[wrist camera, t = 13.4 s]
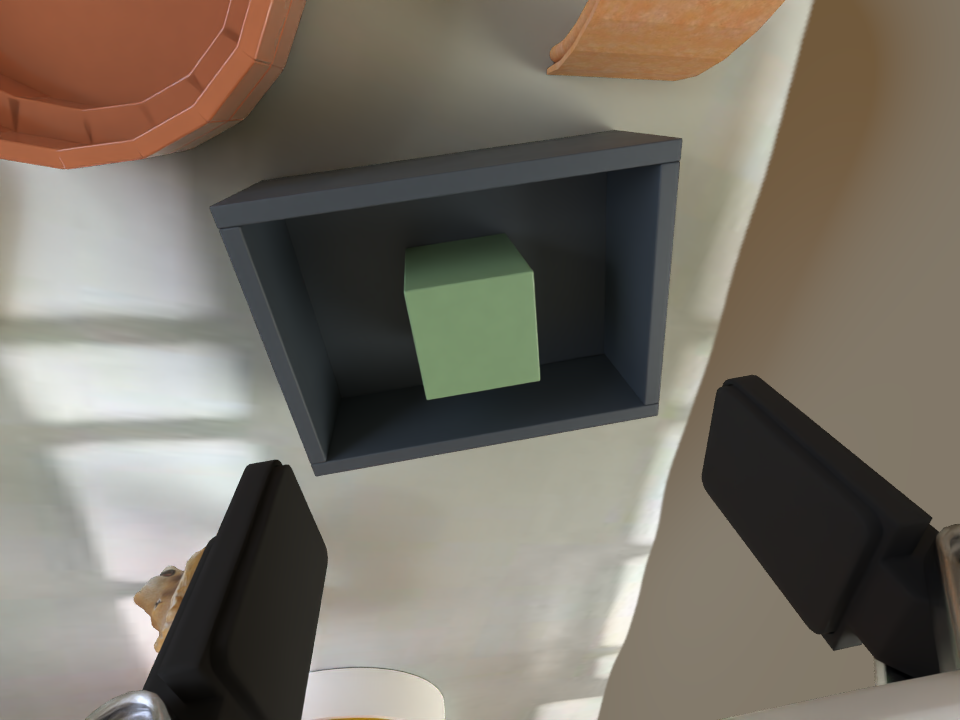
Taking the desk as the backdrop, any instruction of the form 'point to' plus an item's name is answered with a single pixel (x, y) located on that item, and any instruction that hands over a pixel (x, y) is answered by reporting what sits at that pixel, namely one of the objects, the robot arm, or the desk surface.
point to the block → (472, 315)
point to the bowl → (133, 74)
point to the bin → (444, 218)
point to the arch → (657, 37)
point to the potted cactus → (370, 696)
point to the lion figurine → (166, 596)
